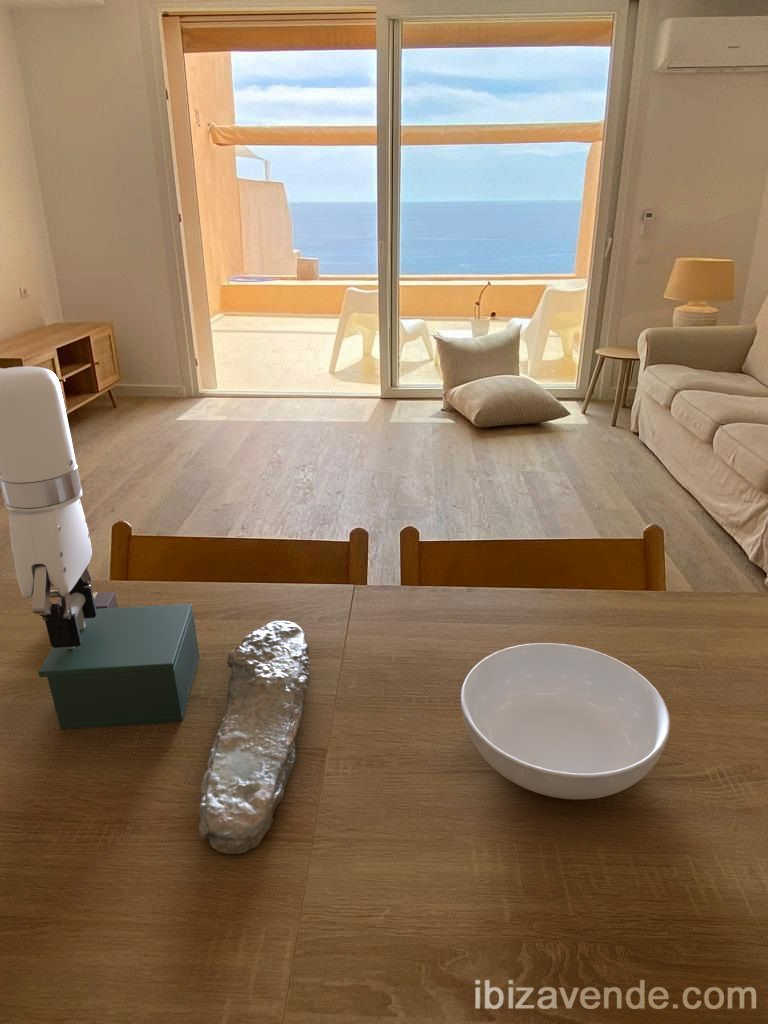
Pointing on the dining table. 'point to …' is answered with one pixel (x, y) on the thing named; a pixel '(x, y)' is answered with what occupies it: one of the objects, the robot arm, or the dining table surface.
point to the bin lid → (121, 640)
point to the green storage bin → (128, 693)
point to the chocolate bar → (102, 600)
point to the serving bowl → (564, 719)
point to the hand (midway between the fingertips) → (75, 629)
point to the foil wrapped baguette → (255, 737)
